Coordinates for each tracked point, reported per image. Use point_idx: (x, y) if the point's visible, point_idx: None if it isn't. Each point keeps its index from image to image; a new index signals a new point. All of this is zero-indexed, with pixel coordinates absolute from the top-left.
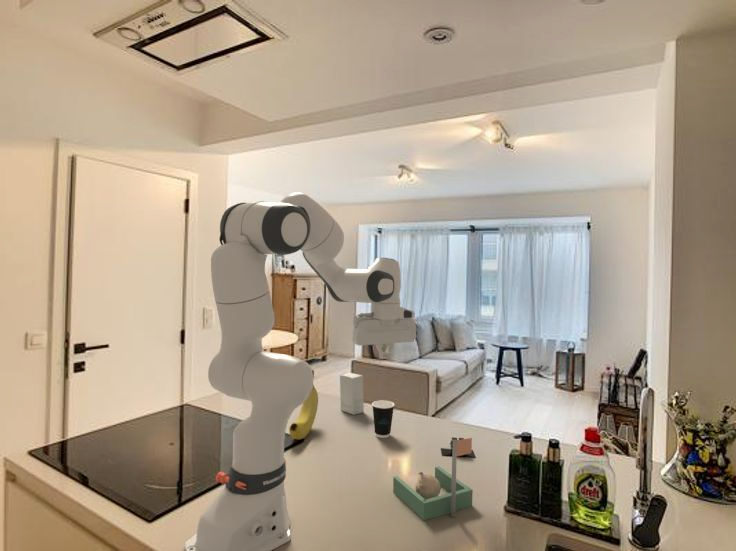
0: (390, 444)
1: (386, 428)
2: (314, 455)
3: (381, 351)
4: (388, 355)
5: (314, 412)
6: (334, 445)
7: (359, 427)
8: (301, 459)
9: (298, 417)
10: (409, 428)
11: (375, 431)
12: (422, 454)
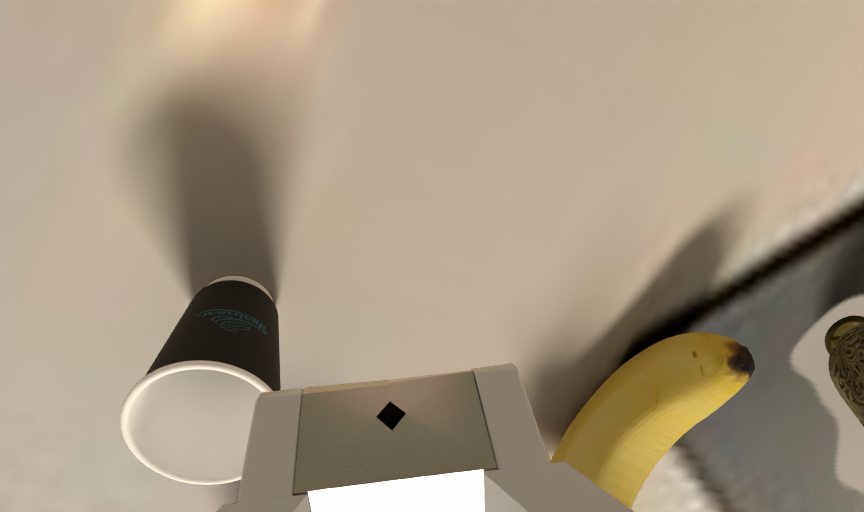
0: (233, 192)
1: (220, 296)
2: (654, 190)
3: (583, 501)
4: (304, 428)
5: None
6: (521, 264)
7: None
8: (726, 168)
9: (649, 472)
10: (49, 349)
11: (277, 319)
12: (82, 5)
